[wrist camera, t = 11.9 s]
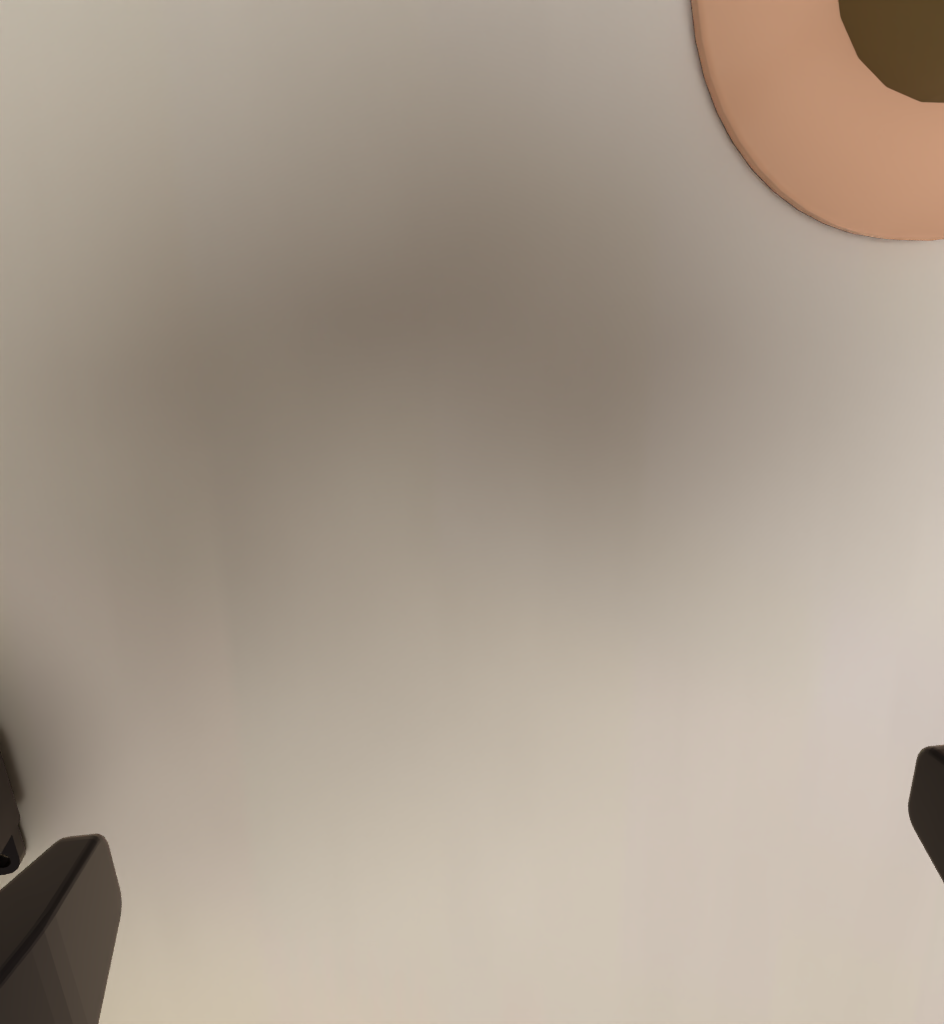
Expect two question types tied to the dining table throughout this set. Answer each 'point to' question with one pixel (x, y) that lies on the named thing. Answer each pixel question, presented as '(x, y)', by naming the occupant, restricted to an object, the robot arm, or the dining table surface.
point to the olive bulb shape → (900, 43)
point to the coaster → (822, 118)
